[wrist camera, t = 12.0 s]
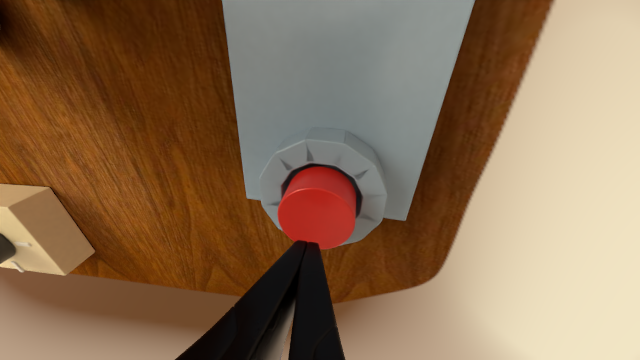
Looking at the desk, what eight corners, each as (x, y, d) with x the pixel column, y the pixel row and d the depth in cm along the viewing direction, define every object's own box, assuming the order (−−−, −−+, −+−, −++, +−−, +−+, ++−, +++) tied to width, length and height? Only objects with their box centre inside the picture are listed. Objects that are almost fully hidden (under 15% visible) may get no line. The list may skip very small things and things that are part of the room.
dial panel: (49, 185, 21) (3, 207, 18) (96, 252, 25) (64, 278, 22) (-39, 179, 22) (-93, 199, 20) (19, 243, 27) (-19, 266, 24)
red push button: (351, 226, 13) (350, 255, 12) (288, 217, 14) (278, 243, 12) (361, 170, 12) (360, 194, 10) (288, 161, 12) (275, 183, 10)
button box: (396, 214, 17) (405, 259, 13) (260, 195, 18) (235, 232, 14) (546, -308, 7) (723, -642, 3) (217, -283, 8) (108, -524, 5)
